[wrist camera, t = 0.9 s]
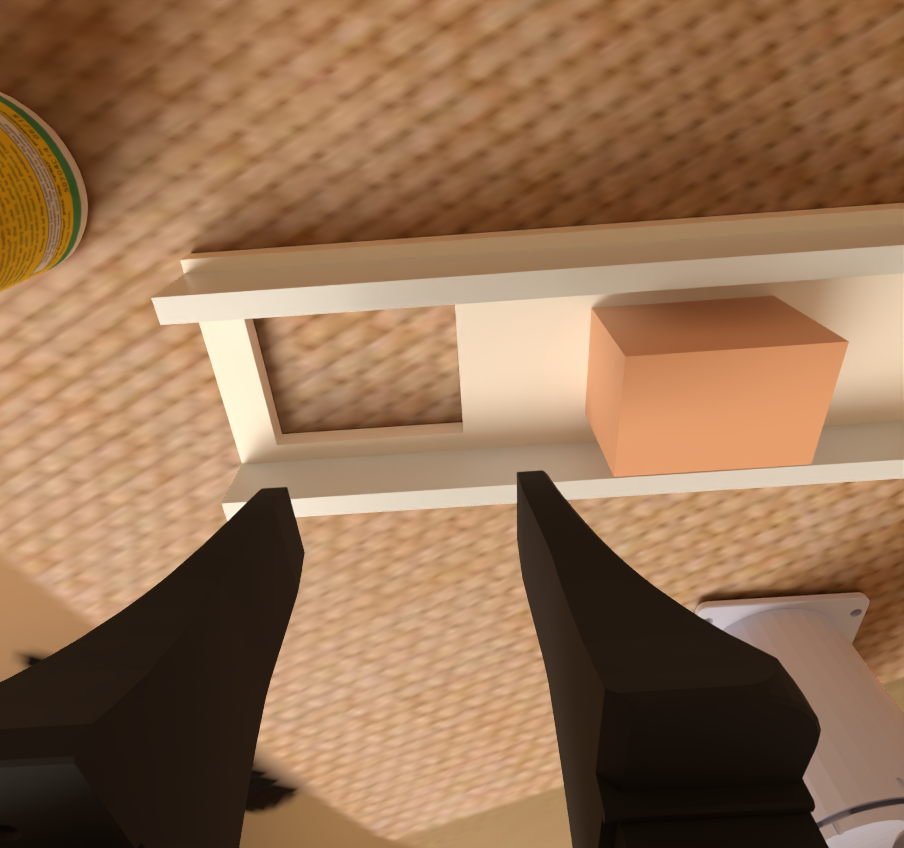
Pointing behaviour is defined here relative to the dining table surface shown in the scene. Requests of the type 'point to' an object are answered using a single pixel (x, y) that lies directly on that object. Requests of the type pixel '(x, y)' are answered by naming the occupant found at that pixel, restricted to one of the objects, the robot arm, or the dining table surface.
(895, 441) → the trap channel
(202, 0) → the dining table surface
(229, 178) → the dining table surface
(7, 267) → the supplement bottle
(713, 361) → the terracotta block
